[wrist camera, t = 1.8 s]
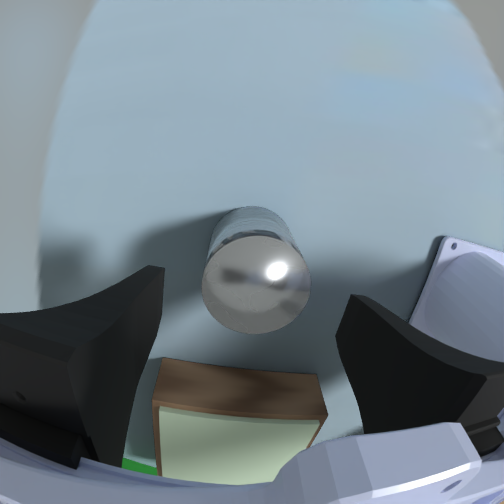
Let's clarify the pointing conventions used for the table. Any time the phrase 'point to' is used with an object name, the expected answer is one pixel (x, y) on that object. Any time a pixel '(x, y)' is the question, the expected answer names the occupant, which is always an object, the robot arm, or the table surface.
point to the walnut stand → (231, 421)
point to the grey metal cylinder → (254, 272)
